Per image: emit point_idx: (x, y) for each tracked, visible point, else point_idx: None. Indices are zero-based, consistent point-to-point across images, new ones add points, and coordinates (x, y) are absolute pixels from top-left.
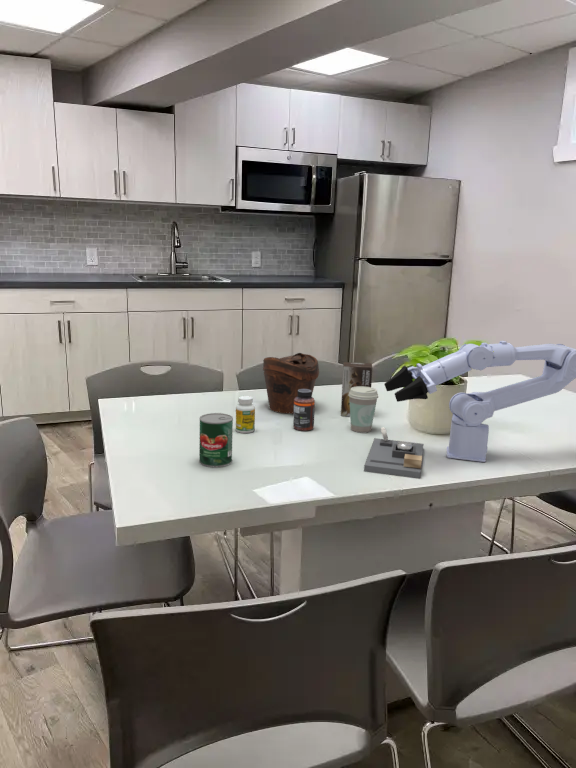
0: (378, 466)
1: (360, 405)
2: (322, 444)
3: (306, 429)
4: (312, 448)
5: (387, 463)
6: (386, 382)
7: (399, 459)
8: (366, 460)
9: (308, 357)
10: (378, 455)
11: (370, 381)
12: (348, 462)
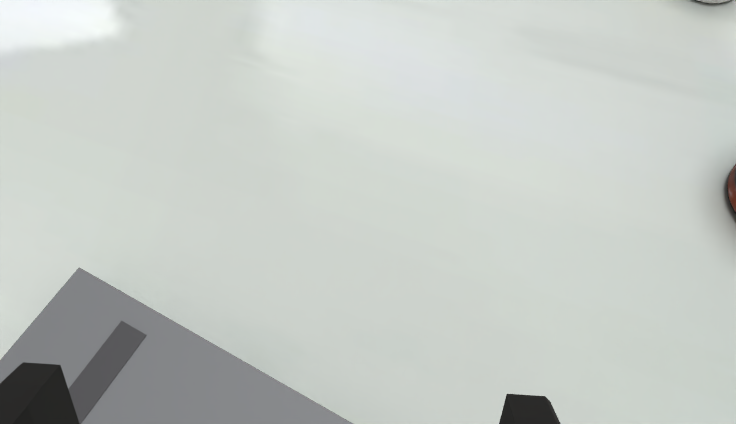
0: (28, 337)
1: None
2: (518, 217)
3: (731, 198)
4: (459, 154)
5: None
6: (538, 419)
7: None
8: (144, 307)
9: None
10: (204, 416)
11: None
12: (232, 252)
